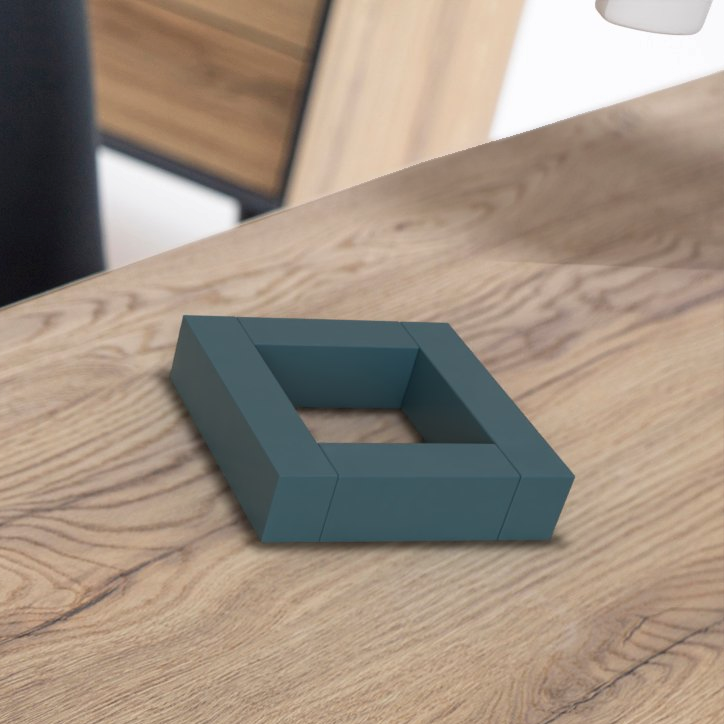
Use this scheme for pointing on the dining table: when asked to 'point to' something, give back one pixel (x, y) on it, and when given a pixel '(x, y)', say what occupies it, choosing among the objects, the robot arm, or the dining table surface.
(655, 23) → the eye dropper bottle
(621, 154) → the dining table surface
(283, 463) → the frame
